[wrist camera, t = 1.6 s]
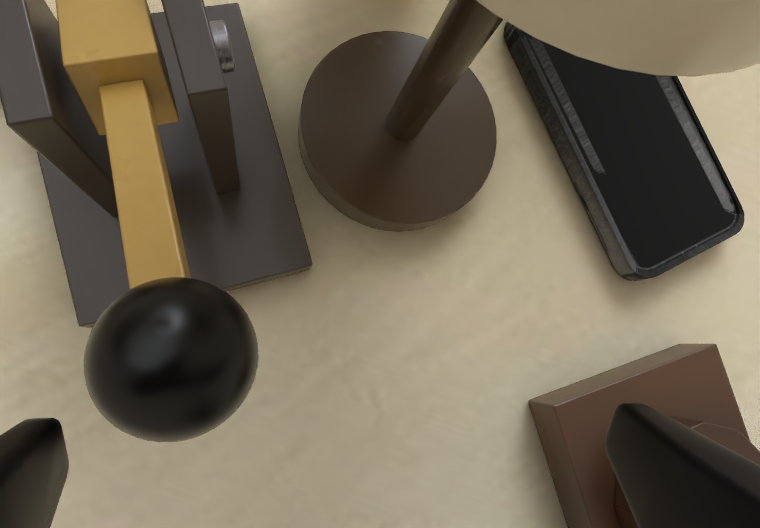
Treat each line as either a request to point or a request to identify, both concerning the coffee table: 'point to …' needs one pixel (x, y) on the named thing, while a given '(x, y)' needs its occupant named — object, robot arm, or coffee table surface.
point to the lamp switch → (180, 146)
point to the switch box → (594, 413)
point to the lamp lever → (150, 245)
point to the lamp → (480, 93)
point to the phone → (631, 157)
